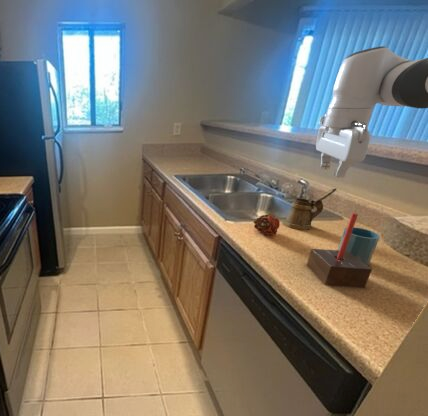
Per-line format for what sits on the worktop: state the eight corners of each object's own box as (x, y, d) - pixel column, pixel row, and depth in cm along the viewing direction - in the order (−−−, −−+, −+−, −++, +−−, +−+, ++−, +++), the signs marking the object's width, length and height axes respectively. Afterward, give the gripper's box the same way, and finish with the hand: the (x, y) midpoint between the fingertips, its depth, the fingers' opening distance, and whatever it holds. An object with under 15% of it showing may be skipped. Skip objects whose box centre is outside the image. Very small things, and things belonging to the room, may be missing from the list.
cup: (362, 256, 92) (372, 229, 88) (373, 269, 85) (384, 240, 81) (332, 251, 95) (341, 225, 91) (340, 263, 88) (349, 235, 84)
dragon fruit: (262, 242, 104) (260, 234, 115) (286, 233, 100) (282, 226, 111) (251, 223, 105) (250, 216, 115) (274, 213, 101) (271, 207, 111)
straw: (335, 275, 82) (357, 213, 75) (336, 277, 81) (358, 214, 74) (330, 274, 82) (351, 212, 75) (331, 276, 81) (353, 214, 74)
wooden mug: (322, 235, 106) (336, 191, 100) (282, 225, 115) (292, 184, 108) (324, 228, 112) (338, 185, 106) (286, 219, 121) (296, 180, 114)
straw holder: (341, 267, 86) (347, 250, 83) (364, 287, 76) (372, 269, 74) (306, 265, 87) (311, 248, 85) (324, 284, 78) (331, 266, 76)
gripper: (386, 122, 60) (365, 183, 65) (343, 118, 78) (329, 165, 83) (351, 122, 62) (333, 181, 67) (317, 118, 80) (305, 164, 85)
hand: (331, 172), depth 75 cm, fingers open, 8 cm apart
